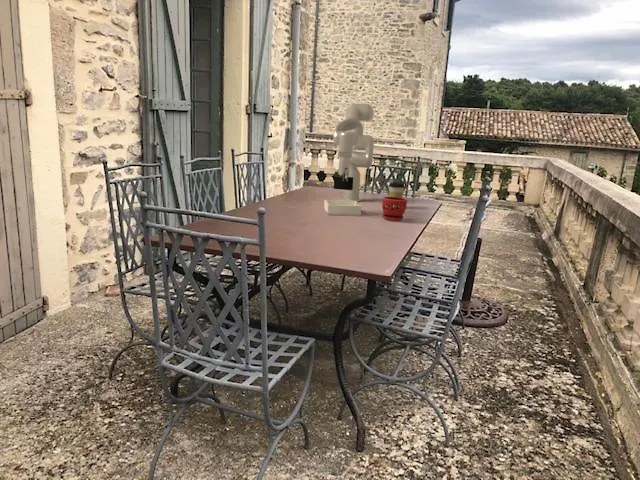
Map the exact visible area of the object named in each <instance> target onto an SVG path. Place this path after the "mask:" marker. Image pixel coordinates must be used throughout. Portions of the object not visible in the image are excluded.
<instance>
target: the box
mask: <svg viewBox="0 0 640 480" xmlns="http://www.w3.org/2000/svg"><path fill="white" fill-rule="evenodd" d="M323 201H324V202H323V210H324V211H326V212H325V213H326V214H327V216H353V217H354V216H355V217H358V216H360V217H361V214H362V205H361V204H360V203H359V202H356V201H343V200H342V199H339V200H338V199H335V200H334V199H329V200H328V199H324V200H323Z"/></svg>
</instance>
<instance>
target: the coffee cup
mask: <svg viewBox="0 0 640 480" xmlns="http://www.w3.org/2000/svg"><path fill="white" fill-rule="evenodd" d="M388 187H389V188H388V189H389V192H388V193H389V195H388V197H399V198H403V195H404V189H405V187H406V186H405V184H404V183H403V182H396V181H395V182H391V181H390V183H389V185H388ZM393 207H394V205H393ZM396 207H397V206H396ZM398 207H399V206H398Z"/></svg>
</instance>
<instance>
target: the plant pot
mask: <svg viewBox="0 0 640 480" xmlns="http://www.w3.org/2000/svg"><path fill="white" fill-rule="evenodd" d="M381 203H382V204H381V205H382V212H383V214H382V218H383V219H384V220H387V221H390V222H399V221H402V220H403V219H404V216H403V215H405V213H406V212H405V211H406V210H407V205H408V204H407V203H408V199H407V198H405V197H402V198H399V197H389V196H383V197H382V202H381ZM393 205H394V207H393ZM396 206H397V207H396ZM398 206H399V207H398Z"/></svg>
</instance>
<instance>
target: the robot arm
mask: <svg viewBox="0 0 640 480" xmlns="http://www.w3.org/2000/svg"><path fill="white" fill-rule="evenodd" d="M374 115H375V111H374V108H373V106H372V105H370V104H367V103H351V104H349V106H348V107H346V108H345V118H344V120H342V121H339V123H337V125H336V126H335V127H334V130H333V131H334V132H333V135H332V141H333V143H334V144H336V145H338V158H339V160H338V161H339V163H338V171H337V172H338V176H342V178H343V181H342V188H347V185H348V177H353V189H352V190H344V196H343V197H342V198H341V200H343V201H356V202H357V203H359V202H361V201H362V198H360V189H361V188H360V187H361V185H360V184H361V172H360V170H359V169H358V168H363V169H365V168H368V169H370V168H371V167H372V166H373V160H374V148H375V140H374V137H373V136H372V135H368V134H367V135H365V134H364V126H363V124H362V122H361V121H363V122H371V121H372V120H373V119H374ZM353 150H355V151H353ZM359 151H360V152H359ZM362 151H365V152H362Z"/></svg>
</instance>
